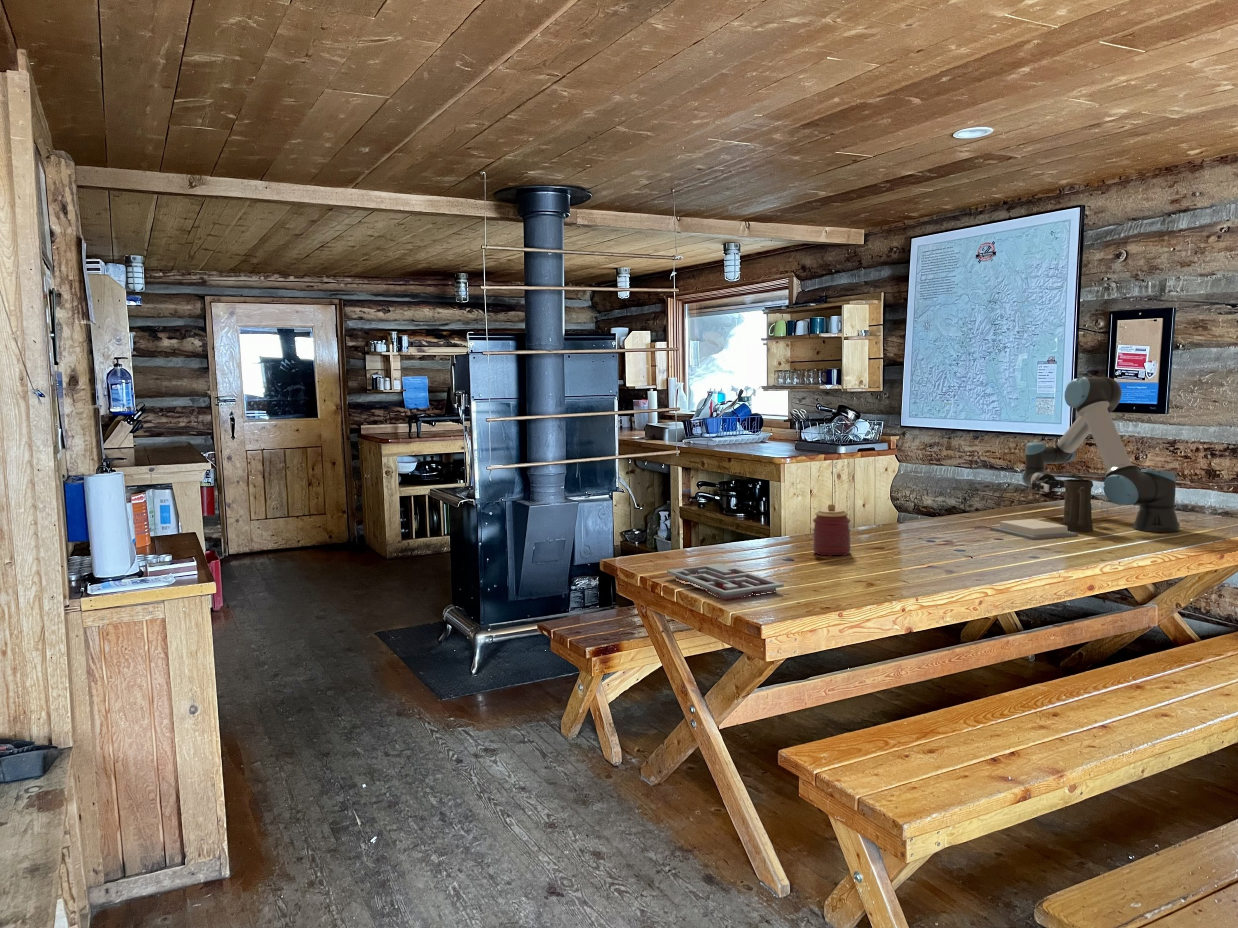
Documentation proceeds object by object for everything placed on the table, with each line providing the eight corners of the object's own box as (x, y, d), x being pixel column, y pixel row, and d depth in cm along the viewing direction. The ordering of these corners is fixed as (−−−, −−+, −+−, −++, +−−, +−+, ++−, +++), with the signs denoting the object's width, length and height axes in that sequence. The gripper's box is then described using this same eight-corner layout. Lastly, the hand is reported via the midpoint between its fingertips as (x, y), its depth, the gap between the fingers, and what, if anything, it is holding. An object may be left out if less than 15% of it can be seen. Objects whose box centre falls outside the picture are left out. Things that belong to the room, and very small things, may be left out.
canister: (821, 548, 322) (821, 500, 320) (856, 551, 315) (856, 502, 313) (807, 554, 312) (806, 505, 310) (842, 558, 304) (842, 507, 302)
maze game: (783, 594, 256) (783, 584, 256) (725, 603, 248) (725, 592, 248) (720, 572, 288) (720, 563, 288) (667, 579, 280) (666, 570, 279)
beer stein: (1057, 527, 351) (1059, 477, 348) (1086, 527, 350) (1088, 477, 346) (1071, 536, 336) (1073, 485, 333) (1101, 536, 335) (1104, 484, 331)
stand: (1033, 526, 356) (1033, 517, 355) (1077, 535, 332) (1078, 526, 332) (990, 529, 351) (990, 520, 350) (1032, 539, 327) (1032, 530, 327)
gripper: (1073, 490, 373) (1097, 497, 352) (1013, 490, 375) (1033, 498, 354) (1074, 472, 372) (1098, 478, 351) (1013, 473, 374) (1033, 479, 353)
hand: (1065, 488), depth 352 cm, fingers open, 13 cm apart
